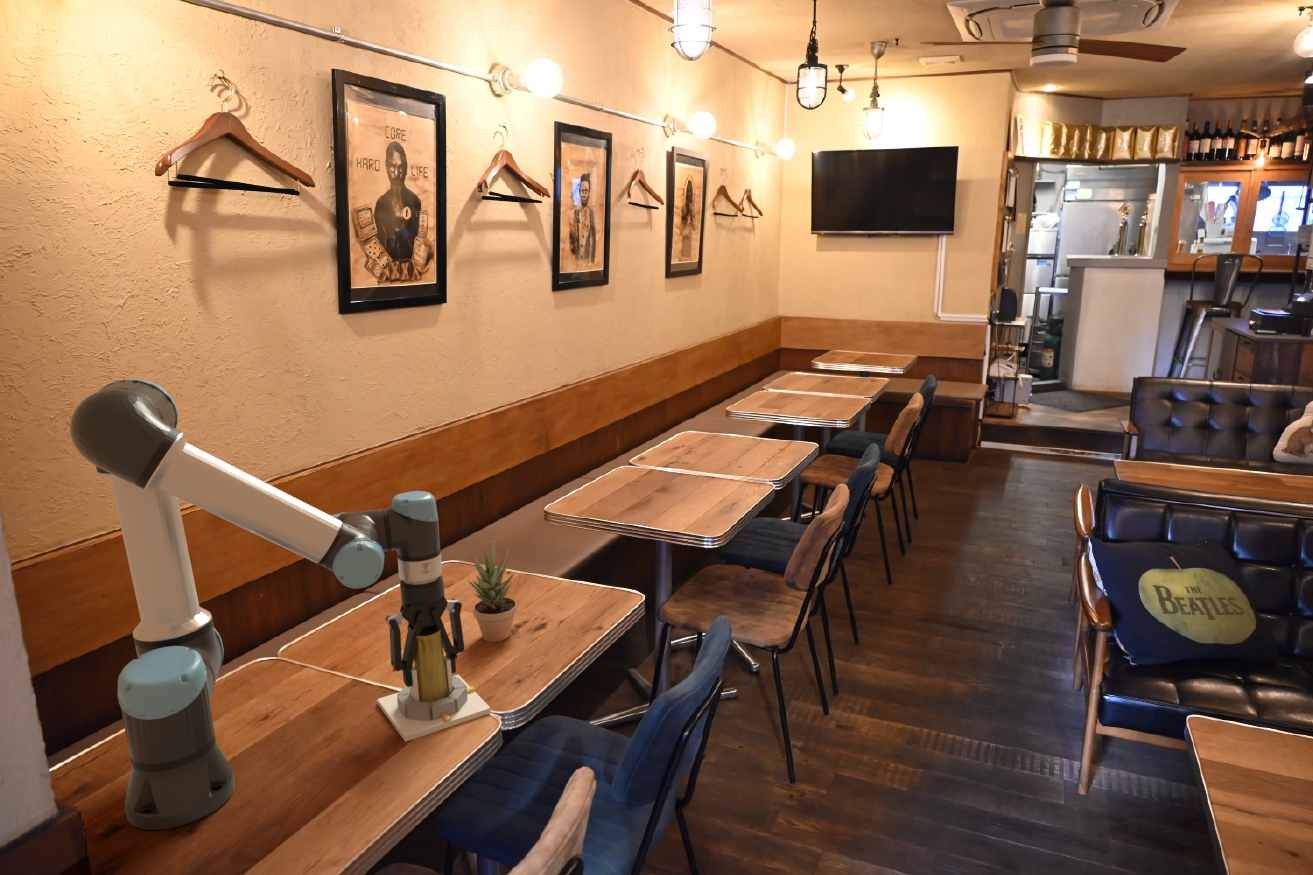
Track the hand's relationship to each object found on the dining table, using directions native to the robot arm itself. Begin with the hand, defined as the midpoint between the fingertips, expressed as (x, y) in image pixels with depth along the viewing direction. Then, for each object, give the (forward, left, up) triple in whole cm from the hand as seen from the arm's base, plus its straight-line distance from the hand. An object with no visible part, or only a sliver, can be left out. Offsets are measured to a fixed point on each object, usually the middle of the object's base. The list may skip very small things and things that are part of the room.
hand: (431, 694), depth 162 cm
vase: (0, 0, -2) cm, 2 cm away
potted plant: (+23, +22, -3) cm, 31 cm away
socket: (0, 0, -3) cm, 3 cm away
